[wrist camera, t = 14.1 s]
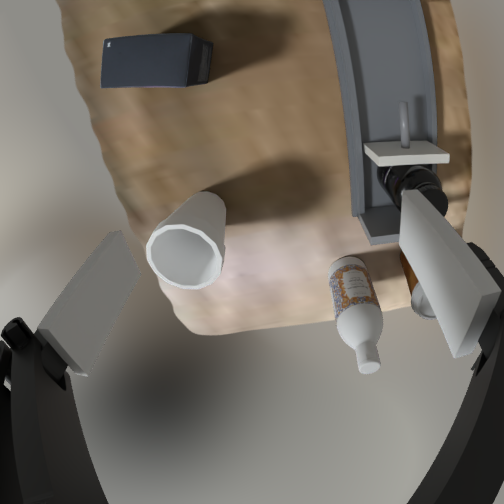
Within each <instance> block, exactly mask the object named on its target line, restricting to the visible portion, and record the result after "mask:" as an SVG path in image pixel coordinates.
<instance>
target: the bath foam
mask: <svg viewBox="0 0 504 504" xmlns="http://www.w3.org/2000/svg"><path fill="white" fill-rule="evenodd" d="M328 280H329V286H330V291H331V297H332V302H333V308H334V314H335V320H336V326H337V329H338V332H339V334H340V336H341V338H342V339H343V340H344V342H345V343H346V344H348V345H349V346H350V347H351V348H353V349H354V350H355V351H356V356H357V362H358V368H359V371H360V372H361V373H362V374H370V373H373V372H375V371H377V370H378V369H379V368H380V366H381V363H380V359H379V354H378V350H377V347H376V344H377V342H378V340H379V337H380V335H381V332H382V328H383V317H382V311H381V308H380V305H379V302H378V299H377V296H376V293H375V290H374V288H373V285H372V282H371V279H370V276H369V273H368V271H367V268H366V266H365V264H364V263H363V262H362V261H361V260H360V259H358V258H356V257H344V258H341V259H339V260H337V261H336V262H334V263H333V264H332V266H331V267H330V269H329V272H328Z"/></svg>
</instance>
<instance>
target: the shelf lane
mask: <svg viewBox="0 0 504 504" xmlns="http://www.w3.org/2000/svg"><path fill="white" fill-rule="evenodd" d="M323 4H324V8H325V12H326V16H327V21H328V25H329V29H330V34H331V39H332V44H333V49H334V54H335V59H336V65H337V71H338V77H339V83H340V89H341V96H342V103H343V111H344V119H345V127H346V137H347V147H348V158H349V171H350V186H351V206H352V216H353V217H358V219H359V221H360V223H361V225H362V227H363V229H364V231H365V234H366V236H367V238H368V240H369V242H370V244H371V245H377V244H385V243H393V242H399V238H400V225H401V212H400V211H399V210H398V209H397V207H396V206H395V205H394V203H393V202H392V201H391V199H390V198H389V196H388V195H387V194H386V192H385V191H384V190H383V188H382V187H381V186H380V184H379V182H378V179H377V166H378V165H377V164H376V163H375V162H374V161H373V160H372V159H371V158H370V157H369V156H368V155H367V154H366V153H365V152H364V150H363V143H372V142H390V141H401V131H400V115H399V103H398V102H408V114H409V132H410V141H424V140H426V141H428V142H430V143H432V144H434V145H435V146H437V113H436V96H435V84H434V75H433V66H432V59H431V52H430V46H429V40H428V34H427V29H426V24H425V20H424V15H423V11H422V7H421V3H420V0H323ZM424 165H425V166H427V167H428V168H429V169H430V170H431V171H433V172H434V173H435V174H436V172H437V163H436V164H424ZM448 223H449V222H448ZM449 224H450V223H449Z"/></svg>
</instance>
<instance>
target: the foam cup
mask: <svg viewBox="0 0 504 504" xmlns="http://www.w3.org/2000/svg"><path fill="white" fill-rule="evenodd" d="M225 223H226V207H225V204H224V202H223V200H222V199H221V198H220V197H219V196H218V195H217V194H214V193H211V192H208V191H204V192H198V193H196V194H194V195H192V196H191V197H190V198H188V199H187V200H186V201H185V202H184V203H183V204H182V205H181V206H180V207H179V208H177V209H176V210H175V211H174V212H173V213H172V214H171V215H170V216H169V217H168V218H167V219H165V220H164V221H162V222H160V223H159V224H158V226H157V227H156V229H155V230H154V232H153V233H152V235H151V237H150V239H149V241H148V243H147V245H146V249H147V260H148V262H149V264H150V265H151V267H152V269H153V271H154V272H155V273H156V274H157V275H158V276H159V277H160V278H162V279H163V280H164V281H165V282H167V283H168V284H171V285H174V286H176V287H179V288H182V289H200V288H203V287H205V286H208V285H210V284H212V283H213V282H214V281H215V280H216V278H217V277H218V276H219V275H220V273H221V270H222V267H223V263H224V256H225V245H224V238H225Z"/></svg>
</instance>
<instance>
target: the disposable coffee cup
mask: <svg viewBox="0 0 504 504" xmlns="http://www.w3.org/2000/svg"><path fill="white" fill-rule="evenodd" d="M400 260H401V263H402V266H403V269H404V273H405V276H406V279H407V283H408V286H409V290H410V293H411V306H412V309H413V310H414V312H415V313H417V314H418V315H419V316H420V317H422V318H424V319H427V320H433V319H437V318H436V315H435V313H434V311H433V309H432V307H431V305H430V303H429V300H428V298H427V296H426V294H425V292H424V290H423V288H422V286H421V284H420V282H419V280H418V279H417V277H416V275H415V273H414V271H413V269H412V267H411V265H410V263H409V262H408V260H407V258H406V256H405V254H404V253H403V251H401V254H400Z"/></svg>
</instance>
